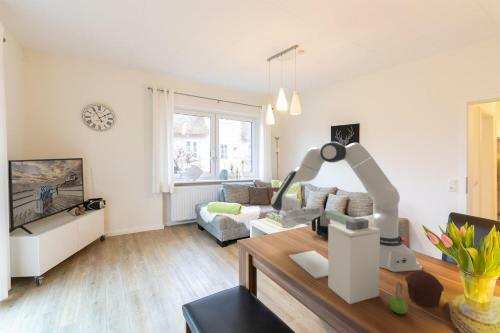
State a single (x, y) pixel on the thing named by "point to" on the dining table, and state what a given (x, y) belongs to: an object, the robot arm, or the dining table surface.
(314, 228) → the milk frother
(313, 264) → the mat
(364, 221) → the t-shaped bar
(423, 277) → the muffin
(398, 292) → the green rounded piece
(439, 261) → the dining table surface
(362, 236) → the tall white box
